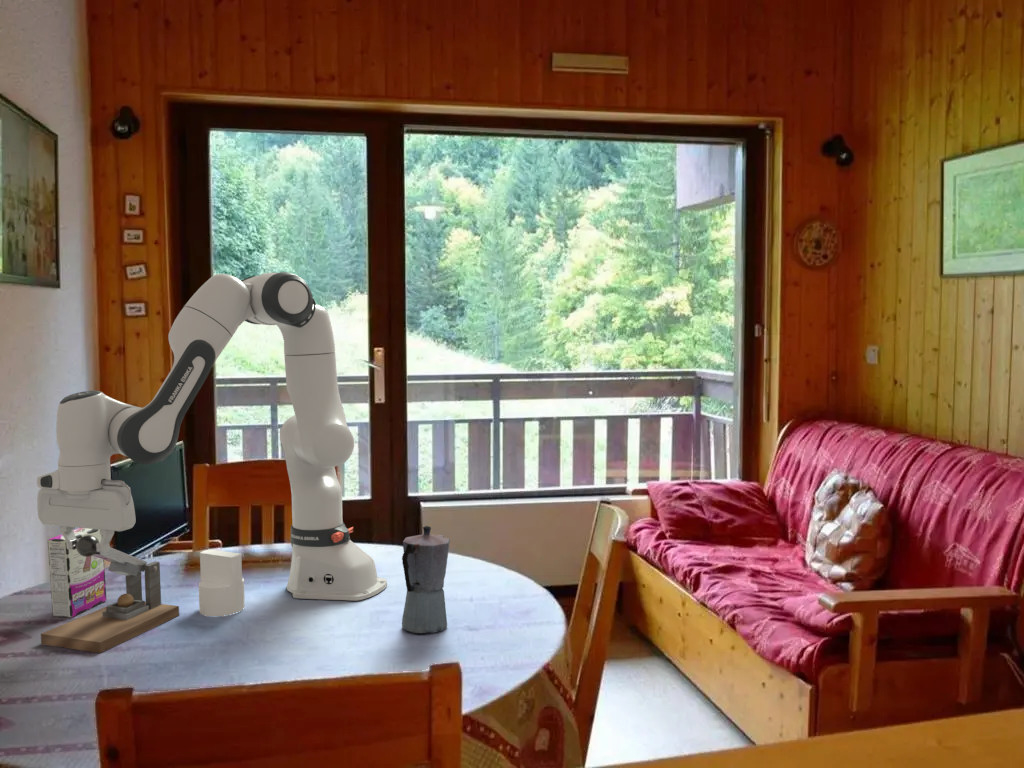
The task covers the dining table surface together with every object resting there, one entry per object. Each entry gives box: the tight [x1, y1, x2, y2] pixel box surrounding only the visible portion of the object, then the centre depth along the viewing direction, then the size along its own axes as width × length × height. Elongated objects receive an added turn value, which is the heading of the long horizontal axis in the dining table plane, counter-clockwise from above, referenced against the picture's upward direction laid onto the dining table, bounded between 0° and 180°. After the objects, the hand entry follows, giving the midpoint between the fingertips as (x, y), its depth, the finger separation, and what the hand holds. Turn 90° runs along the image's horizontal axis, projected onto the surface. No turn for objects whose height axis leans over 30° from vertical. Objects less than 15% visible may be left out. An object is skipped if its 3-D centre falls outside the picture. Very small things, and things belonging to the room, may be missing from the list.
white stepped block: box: [198, 548, 246, 617], centre depth 182 cm, size 9×9×12 cm
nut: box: [116, 593, 134, 608], centre depth 174 cm, size 3×3×3 cm
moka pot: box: [401, 525, 451, 634], centre depth 170 cm, size 10×15×20 cm, turn 161°
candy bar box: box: [47, 528, 107, 618], centre depth 183 cm, size 11×5×16 cm, turn 168°
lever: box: [76, 535, 148, 577], centre depth 170 cm, size 4×17×4 cm, turn 161°
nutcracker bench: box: [40, 561, 180, 654], centre depth 171 cm, size 14×21×11 cm, turn 161°
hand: (88, 550), depth 165 cm, fingers open, 6 cm apart
